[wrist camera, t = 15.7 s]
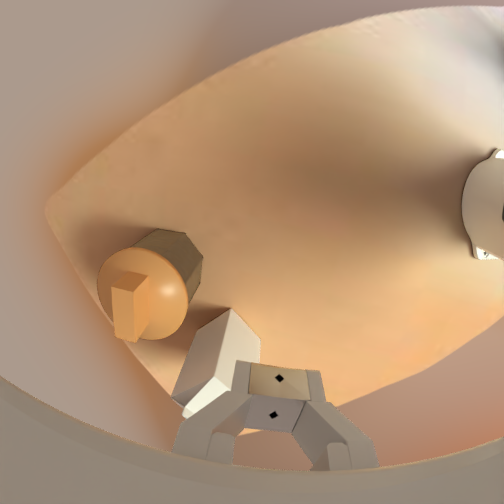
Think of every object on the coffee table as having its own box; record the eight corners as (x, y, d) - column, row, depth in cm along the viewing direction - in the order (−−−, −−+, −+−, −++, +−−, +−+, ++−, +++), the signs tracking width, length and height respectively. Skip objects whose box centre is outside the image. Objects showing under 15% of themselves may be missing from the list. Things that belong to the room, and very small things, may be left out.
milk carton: (231, 306, 42) (207, 403, 24) (261, 339, 43) (255, 439, 25) (196, 329, 43) (160, 422, 25) (226, 359, 45) (206, 454, 27)
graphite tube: (205, 236, 39) (185, 262, 29) (198, 300, 42) (180, 338, 32) (139, 225, 39) (104, 246, 29) (137, 287, 42) (107, 319, 32)
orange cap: (196, 251, 31) (178, 276, 24) (189, 334, 34) (174, 371, 28) (108, 235, 31) (75, 253, 24) (111, 315, 34) (85, 344, 28)
